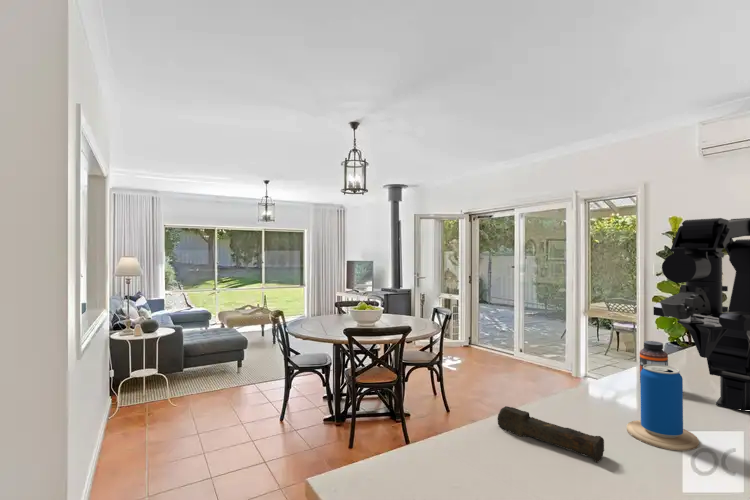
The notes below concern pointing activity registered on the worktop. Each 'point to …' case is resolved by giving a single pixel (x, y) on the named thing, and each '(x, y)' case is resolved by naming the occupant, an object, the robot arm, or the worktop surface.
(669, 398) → the beverage can
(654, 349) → the supplement bottle
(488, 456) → the worktop surface
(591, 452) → the hand tool
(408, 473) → the worktop surface
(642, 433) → the coaster
